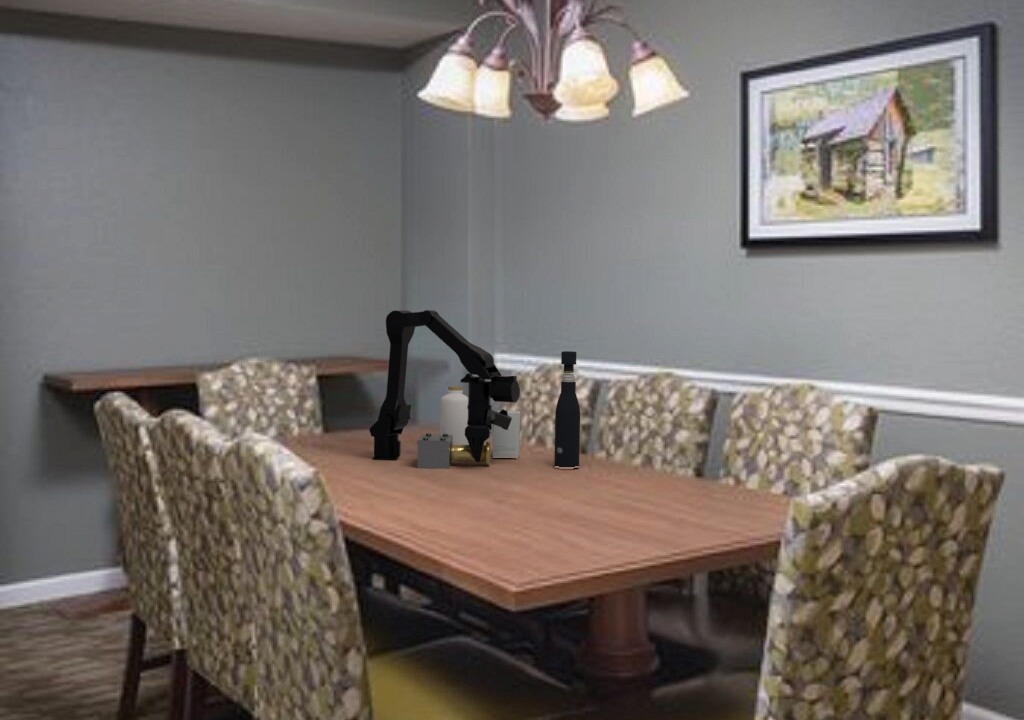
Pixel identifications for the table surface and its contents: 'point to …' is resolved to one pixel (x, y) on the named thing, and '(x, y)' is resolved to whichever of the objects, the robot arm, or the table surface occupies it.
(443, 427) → the white bottle
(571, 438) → the black water bottle
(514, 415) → the supplement box
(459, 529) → the table surface
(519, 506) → the table surface
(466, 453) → the brass cylinder
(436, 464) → the housing
